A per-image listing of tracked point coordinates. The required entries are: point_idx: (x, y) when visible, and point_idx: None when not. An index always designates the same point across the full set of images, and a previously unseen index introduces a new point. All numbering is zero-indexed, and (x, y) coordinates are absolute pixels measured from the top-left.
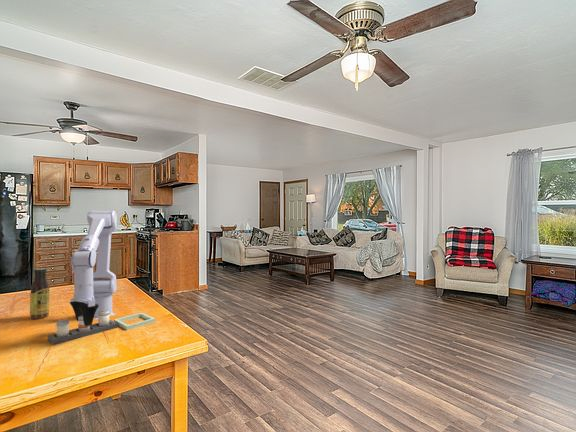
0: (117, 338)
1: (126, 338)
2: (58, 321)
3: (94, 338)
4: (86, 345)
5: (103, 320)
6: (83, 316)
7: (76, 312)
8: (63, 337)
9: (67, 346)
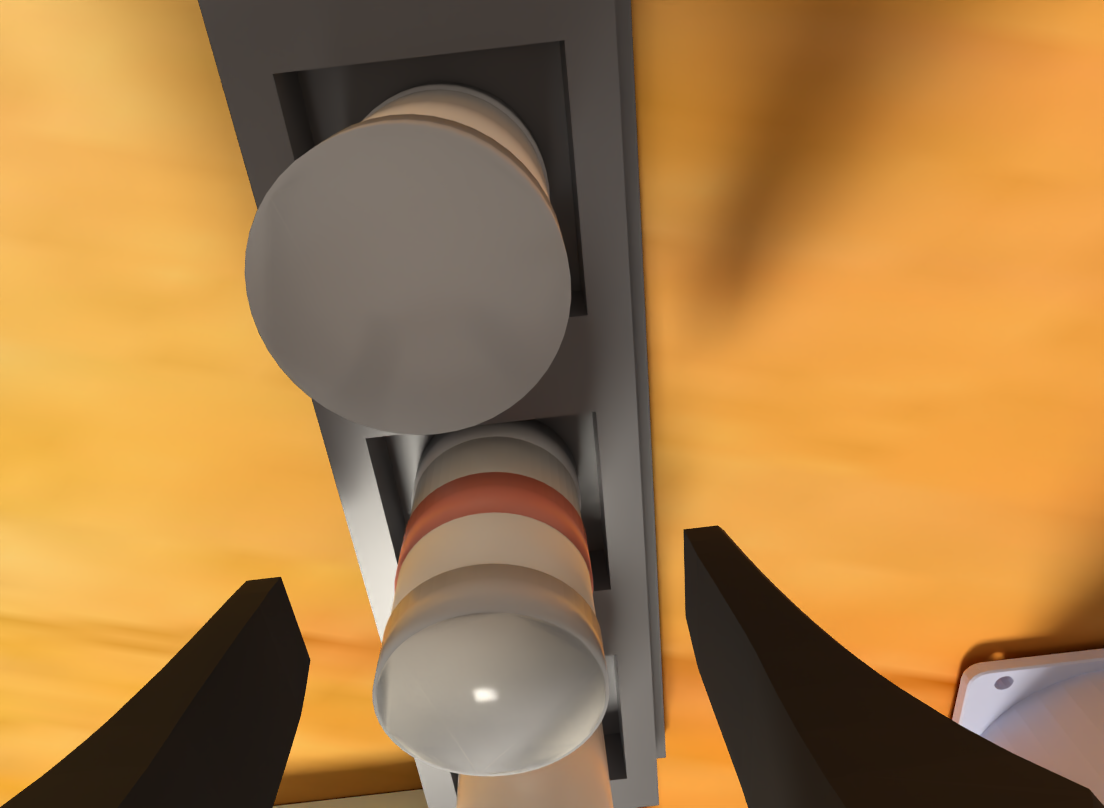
0: (85, 709)
1: (31, 768)
2: (478, 198)
3: (249, 533)
4: (7, 412)
5: (457, 790)
6: (100, 739)
7: (747, 658)
8: (261, 185)
9: (108, 190)
